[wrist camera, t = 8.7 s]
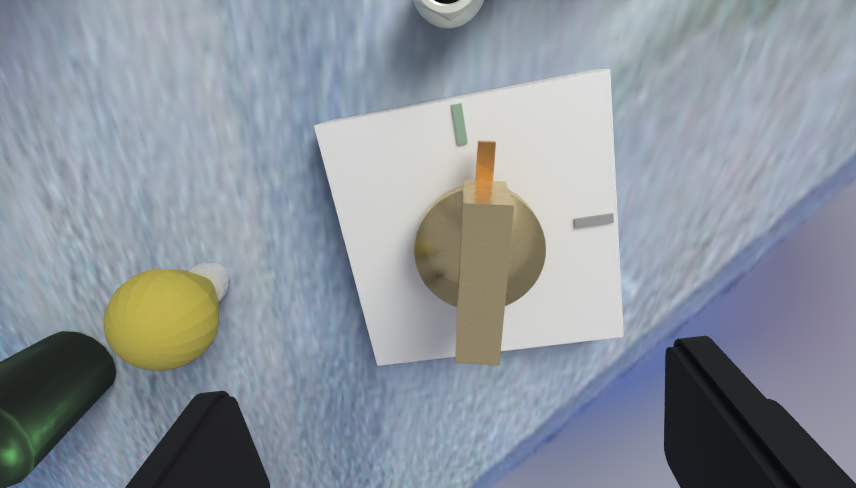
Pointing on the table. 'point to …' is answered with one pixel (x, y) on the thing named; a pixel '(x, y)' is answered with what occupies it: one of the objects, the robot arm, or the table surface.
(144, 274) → the light bulb
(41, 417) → the potion bottle
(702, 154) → the table surface
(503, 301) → the knob
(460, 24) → the valve
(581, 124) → the base plate
